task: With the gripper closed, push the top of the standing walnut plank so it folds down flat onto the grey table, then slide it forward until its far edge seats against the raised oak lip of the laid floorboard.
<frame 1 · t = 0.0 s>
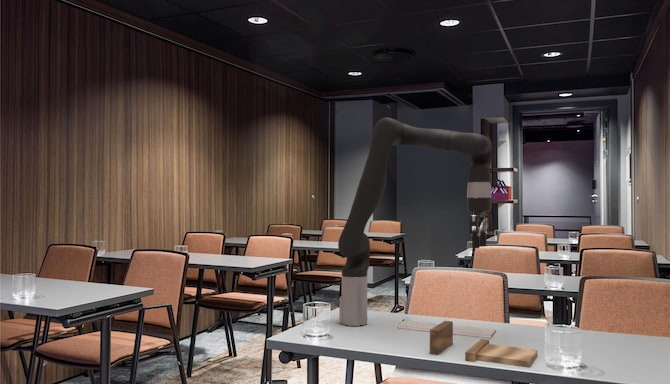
hand: (479, 247, 173), 29 cm above the table, fingers open, 8 cm apart
baseboard molding: (446, 333, 183), on the table
plank: (441, 349, 160), on the table
floor edge: (473, 352, 156), on the table
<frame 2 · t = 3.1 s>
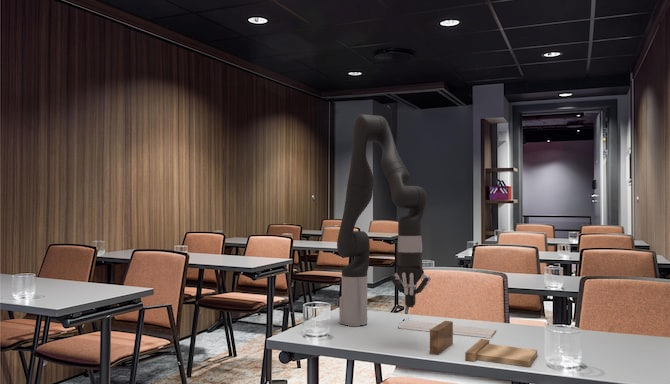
hand: (410, 306, 165), 11 cm above the table, fingers closed
nothing on the table moved.
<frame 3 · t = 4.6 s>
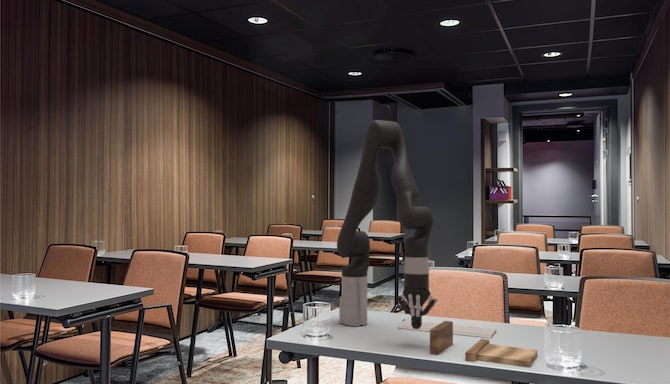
hand: (416, 328, 164), 5 cm above the table, fingers closed
nothing on the table moved.
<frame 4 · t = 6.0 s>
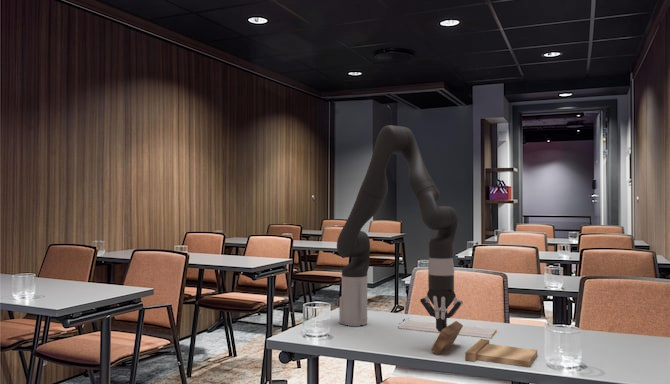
hand: (441, 331, 160), 5 cm above the table, fingers closed
plank: (442, 347, 160), on the table, tilted 28°
everything else where it was.
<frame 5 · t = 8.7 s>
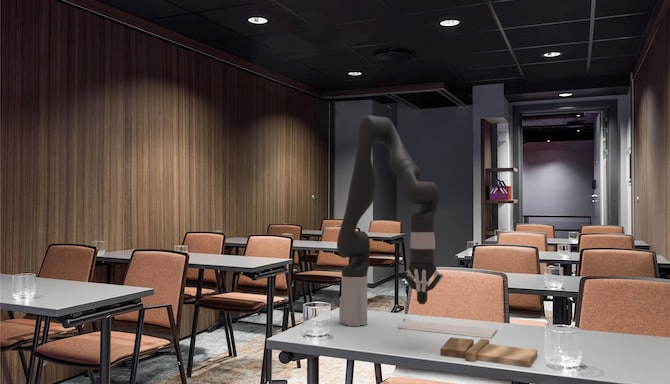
hand: (422, 303, 164), 13 cm above the table, fingers closed
plank: (445, 346, 159), point 1 cm above the table, tilted 90°
everything else where it was.
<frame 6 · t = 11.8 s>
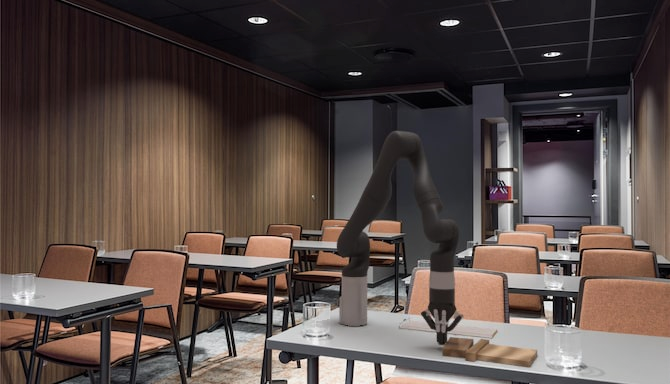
hand: (441, 344, 160), 1 cm above the table, fingers closed
nothing on the table moved.
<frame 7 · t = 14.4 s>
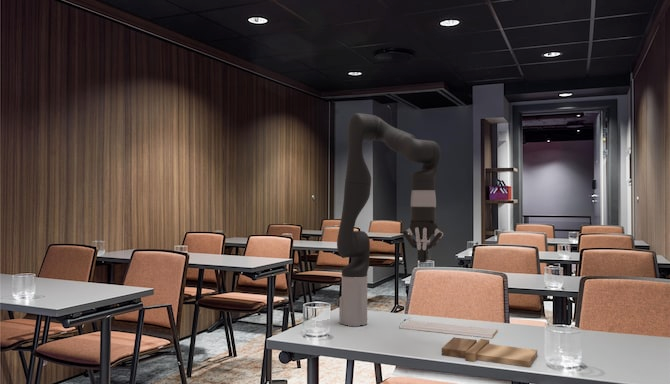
hand: (423, 262, 164), 25 cm above the table, fingers closed
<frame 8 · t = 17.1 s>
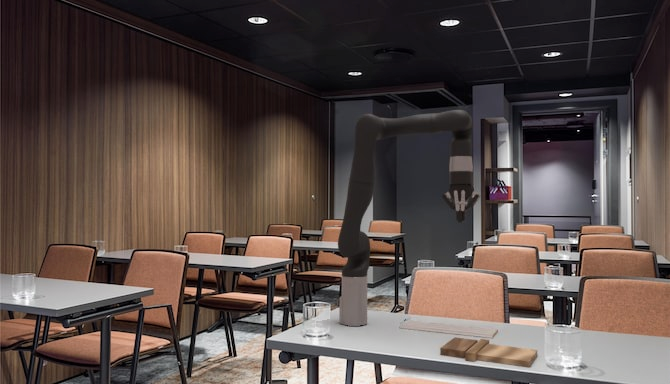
hand: (461, 222, 180), 37 cm above the table, fingers closed
nothing on the table moved.
at the end: plank tilted 90°; plank inside the target area (2.2 cm from its centre), point 0.7 cm above the table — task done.
